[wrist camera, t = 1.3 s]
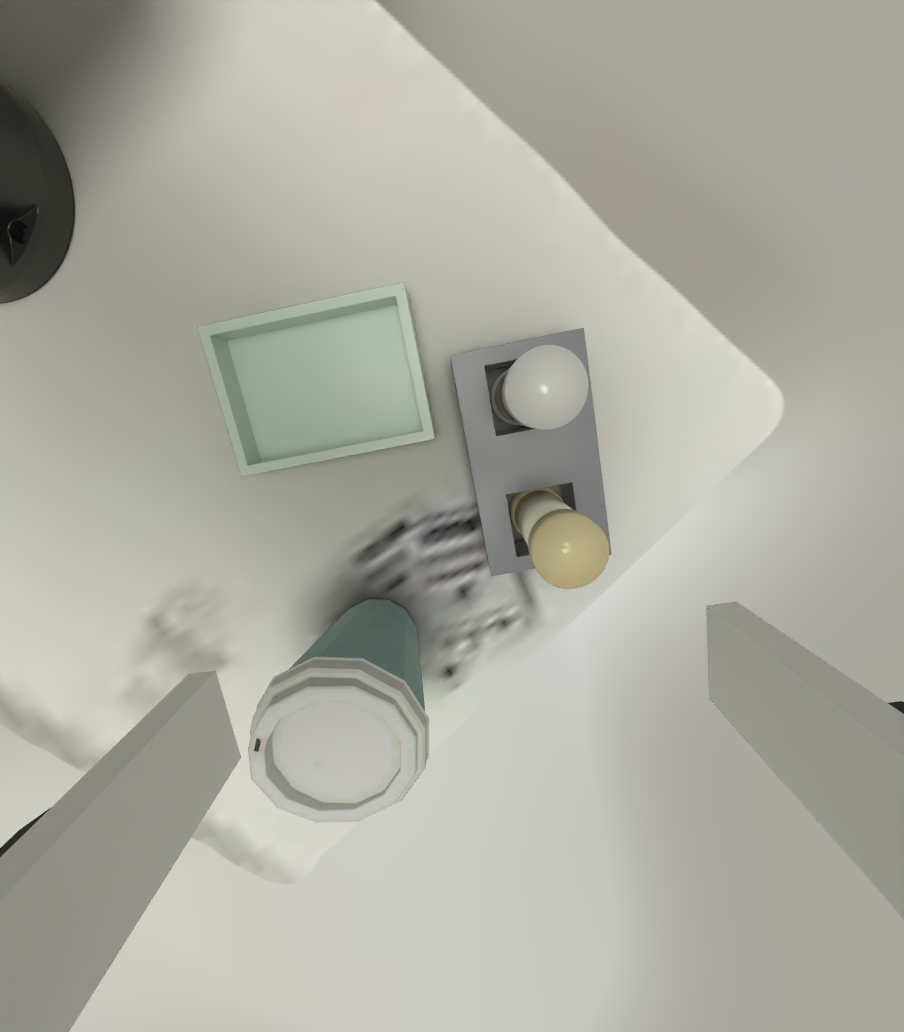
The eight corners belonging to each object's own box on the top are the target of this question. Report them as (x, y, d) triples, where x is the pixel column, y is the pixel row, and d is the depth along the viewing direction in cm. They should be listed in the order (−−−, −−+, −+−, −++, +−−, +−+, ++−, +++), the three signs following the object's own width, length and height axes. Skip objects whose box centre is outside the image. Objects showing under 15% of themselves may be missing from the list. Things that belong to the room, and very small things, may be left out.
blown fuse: (485, 374, 35) (500, 353, 23) (540, 363, 34) (582, 337, 23) (494, 429, 36) (513, 436, 24) (548, 419, 35) (593, 421, 24)
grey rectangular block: (451, 362, 34) (450, 355, 31) (569, 337, 34) (583, 327, 30) (487, 559, 38) (491, 576, 34) (595, 540, 37) (611, 554, 34)
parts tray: (219, 334, 34) (197, 326, 31) (408, 293, 33) (403, 282, 31) (258, 471, 36) (241, 476, 34) (436, 436, 36) (434, 438, 33)
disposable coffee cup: (454, 595, 39) (453, 706, 24) (420, 702, 41) (401, 863, 26) (333, 561, 38) (256, 653, 23) (306, 672, 40) (220, 819, 26)
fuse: (505, 488, 37) (527, 524, 25) (556, 479, 36) (604, 509, 25) (513, 538, 37) (539, 594, 26) (564, 529, 37) (613, 581, 26)
